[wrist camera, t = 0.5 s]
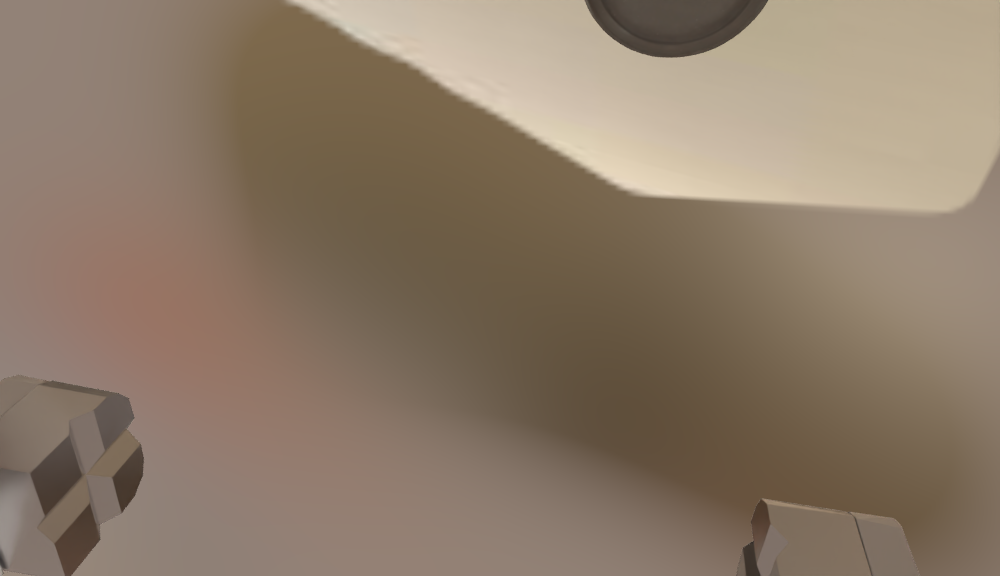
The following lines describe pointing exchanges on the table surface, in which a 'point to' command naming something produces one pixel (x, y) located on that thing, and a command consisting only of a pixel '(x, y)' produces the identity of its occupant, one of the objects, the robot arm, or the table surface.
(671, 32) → the coffee can
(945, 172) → the table surface
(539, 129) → the table surface
